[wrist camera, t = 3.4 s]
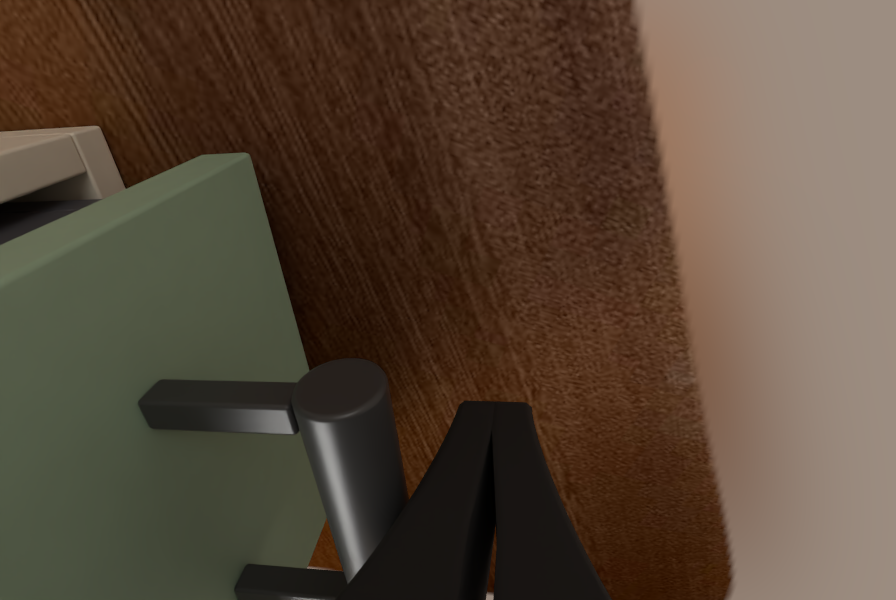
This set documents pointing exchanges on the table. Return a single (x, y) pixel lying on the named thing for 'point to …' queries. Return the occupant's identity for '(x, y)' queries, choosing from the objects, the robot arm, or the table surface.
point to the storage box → (57, 165)
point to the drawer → (176, 405)
